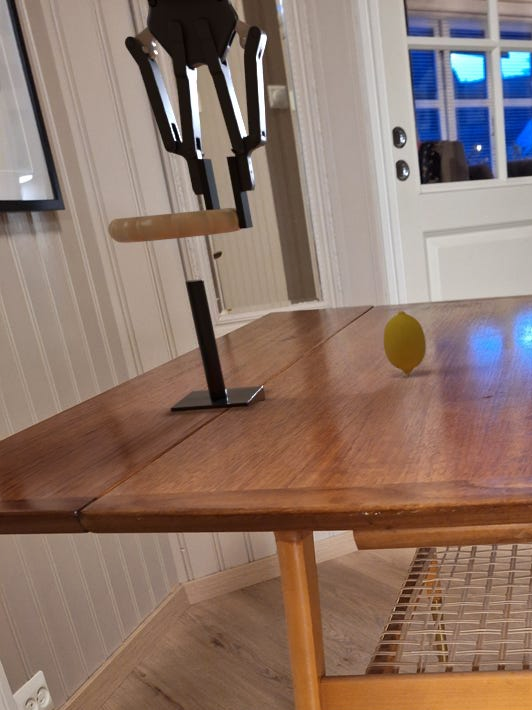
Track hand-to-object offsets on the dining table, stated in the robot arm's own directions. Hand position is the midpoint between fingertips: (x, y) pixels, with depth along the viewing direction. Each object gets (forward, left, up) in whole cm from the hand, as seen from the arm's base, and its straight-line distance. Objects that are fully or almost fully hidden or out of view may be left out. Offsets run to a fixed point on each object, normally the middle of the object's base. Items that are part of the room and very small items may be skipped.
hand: (231, 228), depth 90 cm
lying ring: (-6, 0, +1) cm, 6 cm away
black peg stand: (-7, +6, -20) cm, 22 cm away
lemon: (+15, +19, -20) cm, 31 cm away
